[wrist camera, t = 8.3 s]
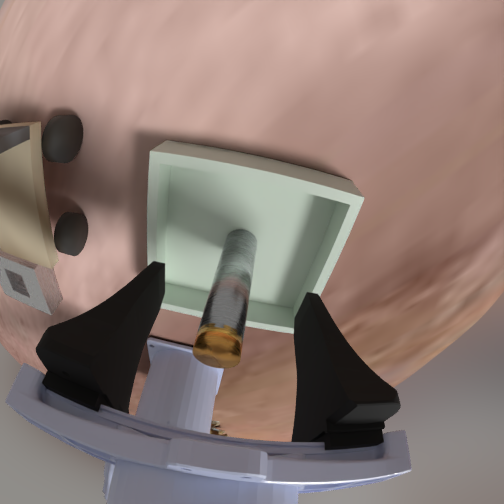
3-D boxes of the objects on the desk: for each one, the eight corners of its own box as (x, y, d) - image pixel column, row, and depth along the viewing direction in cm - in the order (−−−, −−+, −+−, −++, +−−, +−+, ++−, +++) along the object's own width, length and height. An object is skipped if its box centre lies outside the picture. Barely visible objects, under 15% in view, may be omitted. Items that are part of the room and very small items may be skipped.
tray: (297, 310, 21) (299, 334, 19) (160, 282, 20) (149, 305, 18) (351, 180, 15) (364, 197, 13) (166, 140, 14) (149, 150, 12)
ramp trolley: (90, 241, 19) (41, 302, 13) (20, 223, 18) (-27, 269, 12) (84, 111, 13) (3, 141, 7) (7, 116, 12) (-58, 147, 7)
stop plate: (62, 298, 23) (51, 315, 21) (16, 279, 22) (4, 293, 20) (48, 252, 20) (34, 269, 18) (1, 237, 19) (-13, 250, 17)
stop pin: (251, 259, 18) (232, 372, 11) (221, 249, 18) (188, 359, 11) (261, 235, 17) (246, 352, 10) (231, 224, 17) (197, 336, 10)
